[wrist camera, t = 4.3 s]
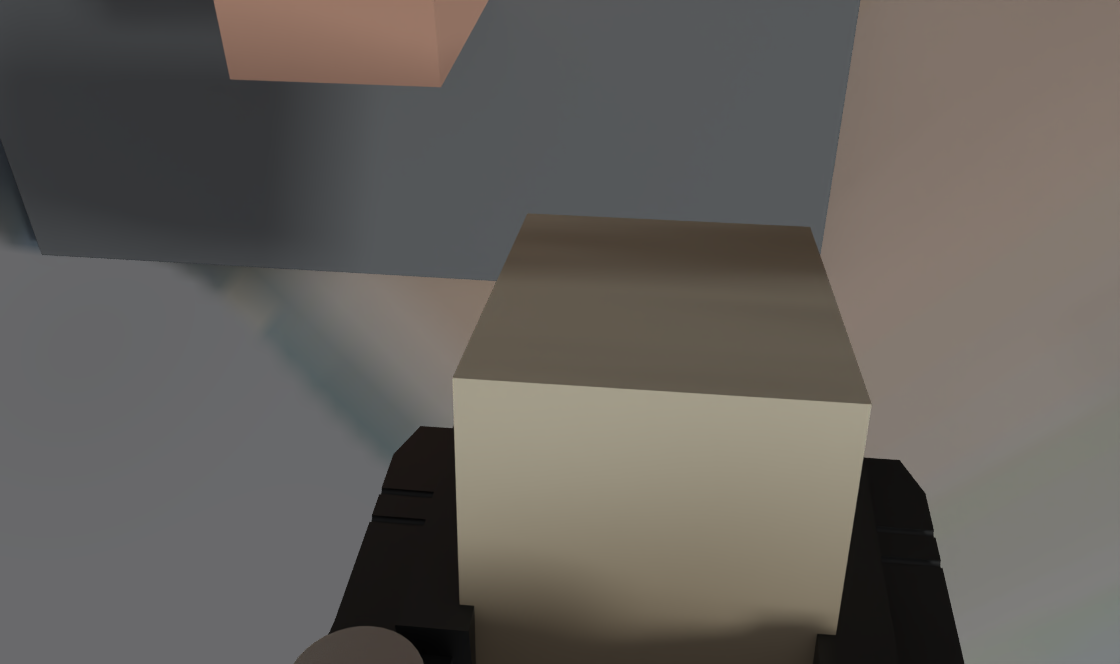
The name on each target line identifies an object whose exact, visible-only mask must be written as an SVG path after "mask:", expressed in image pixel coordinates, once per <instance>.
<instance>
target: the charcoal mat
mask: <svg viewBox="0 0 1120 664" xmlns="http://www.w3.org/2000/svg"><path fill="white" fill-rule="evenodd" d="M859 5H860V0H488V2H487V4H486V6H485V8H484V10H483V11H482V13H481V15H480V17H479V19H478V21H477V22H476V24H475V26H474V28H473V30H472V31H471V33H470V35H469V37H468V39H467V41H466V42H465V44H464V46H463V48H462V50H461V52H460V53H459V55H458V57H457V59H456V61H455V63H454V64H453V66H452V68H451V70H450V72H449V73H448V75H447V77H446V79H445V81H444V83H443V84H442V86H441V87H420V86H393V85H366V84H340V83H313V82H286V81H260V80H233V79H230V76H229V72H228V67H227V62H226V57H225V52H224V48H223V43H222V38H221V33H220V29H219V24H218V19H217V14H216V9H215V5H214V0H0V139H1V142H2V145H3V147H4V150H5V153H6V156H7V159H8V161H9V164H10V167H11V170H12V173H13V175H14V178H15V181H16V184H17V187H18V189H19V192H20V195H21V198H22V200H23V203H24V206H25V209H26V212H27V214H28V217H29V220H30V223H31V226H32V228H33V231H34V234H35V237H36V240H37V242H38V245H39V248H40V251H41V254H42V255H55V256H73V257H90V258H107V259H125V260H142V261H159V262H177V263H194V264H211V265H229V266H246V267H263V268H281V269H298V270H315V271H333V272H350V273H368V274H385V275H402V276H420V277H437V278H454V279H472V280H489V281H497V279H498V277H499V275H500V273H501V270H502V268H503V266H504V264H505V262H506V259H507V257H508V255H509V253H510V251H511V248H512V246H513V244H514V242H515V240H516V237H517V235H518V233H519V231H520V229H521V226H522V224H523V222H524V220H525V218H526V215H527V213H530V214H551V215H572V216H593V217H614V218H635V219H656V220H677V221H698V222H719V223H740V224H761V225H782V226H803V227H810V228H811V231H812V234H813V236H814V239H815V242H816V245H817V248H818V251H819V254H820V253H821V247H822V241H823V234H824V228H825V221H826V215H827V209H828V202H829V196H830V190H831V183H832V177H833V171H834V164H835V158H836V151H837V145H838V139H839V132H840V126H841V120H842V113H843V107H844V101H845V94H846V88H847V82H848V75H849V69H850V62H851V56H852V50H853V43H854V37H855V31H856V24H857V18H858V12H859Z"/></svg>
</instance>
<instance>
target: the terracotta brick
mask: <svg viewBox="0 0 1120 664" xmlns="http://www.w3.org/2000/svg"><path fill="white" fill-rule="evenodd" d="M487 2H488V0H214V5H215V9H216V14H217V19H218V24H219V29H220V33H221V38H222V43H223V48H224V52H225V57H226V62H227V67H228V72H229V76H230V79H233V80H260V81H286V82H313V83H340V84H366V85H393V86H420V87H441V86H442V84H443V83H444V81H445V79H446V77H447V75H448V73H449V72H450V70H451V68H452V66H453V64H454V63H455V61H456V59H457V57H458V55H459V53H460V52H461V50H462V48H463V46H464V44H465V42H466V41H467V39H468V37H469V35H470V33H471V31H472V30H473V28H474V26H475V24H476V22H477V21H478V19H479V17H480V15H481V13H482V11H483V10H484V8H485V6H486V4H487Z"/></svg>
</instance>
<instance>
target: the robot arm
mask: <svg viewBox="0 0 1120 664" xmlns="http://www.w3.org/2000/svg"><path fill="white" fill-rule="evenodd" d="M933 532H934V529H933V525H932V520H931V516H930V512H929V507H928V503H927V499H926V494H925V492H924V491H923V490H922V489H921V487H920V486H919V485H918V483H917V482H916V481H915V480H914V478H913V477H912V476H911V474H910V473H909V472H908V470H907V469H906V468H905V467H904V465H903V464H902V463H901V461H900V460H890V459H876V458H864V457H863V464H862V470H861V477H860V483H859V489H858V496H857V502H856V509H855V515H854V521H853V528H852V534H851V541H850V547H849V553H848V560H847V566H846V573H845V579H844V585H843V592H842V598H841V605H840V611H839V617H838V624H837V630H836V635H828V634H817V638H816V645H815V652H814V659H813V664H964V660H963V655H962V651H961V647H960V642H959V638H958V634H957V629H956V625H955V621H954V616H953V612H952V608H951V603H950V599H949V594H948V590H947V586H946V581H945V577H944V573H943V568H941V567H940V561H941V560H940V555H939V551H938V547H937V542H936V538H934V536H933ZM294 664H476V649H475V611H474V606H472V605H460V600H459V568H458V536H457V504H456V473H455V441H454V426H453V428H439V427H425V426H420V427H419V428H418V429H417V431H416V432H415V433H414V434H413V435H412V436H411V437H410V438H409V439H408V440H407V441H406V442H405V443H404V444H403V445H402V446H401V447H400V448H399V449H398V450H397V451H396V452H395V453H394V455H393V457H392V460H391V463H390V466H389V469H388V471H387V474H386V477H385V480H384V483H383V486H382V493H381V495H379V497H378V500H377V503H376V506H375V508H374V511H373V514H372V522H370V523H369V525H368V528H367V531H366V534H365V537H364V539H363V542H362V545H361V548H360V551H359V553H358V556H357V559H356V562H355V565H354V568H353V570H352V573H351V576H350V579H349V582H348V585H347V587H346V590H345V593H344V596H343V599H342V602H341V604H340V607H339V610H338V613H337V616H336V618H335V621H334V623H333V626H332V628H331V630H330V632H329V634H328V635H326V636H324V637H323V638H321V639H319V640H318V641H316V642H314V643H313V644H312V645H311V646H310V647H308V648H307V649H306V650H305V651H304V652H303V653H302V654H301V655H300V656H299V658H297V660H296V661H295V663H294Z"/></svg>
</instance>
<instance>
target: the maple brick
mask: <svg viewBox="0 0 1120 664" xmlns="http://www.w3.org/2000/svg"><path fill="white" fill-rule="evenodd" d="M871 406H872V404H871V401H870V398H869V395H868V392H867V389H866V386H865V384H864V381H863V378H862V375H861V372H860V369H859V366H858V363H857V360H856V358H855V355H854V352H853V349H852V346H851V343H850V340H849V337H848V335H847V332H846V329H845V326H844V323H843V320H842V317H841V314H840V311H839V309H838V306H837V303H836V300H835V297H834V294H833V291H832V288H831V285H830V283H829V280H828V277H827V274H826V271H825V268H824V265H823V262H822V259H821V257H820V254H819V251H818V248H817V245H816V242H815V239H814V236H813V234H812V231H811V228H810V227H803V226H782V225H761V224H740V223H719V222H698V221H677V220H656V219H635V218H614V217H593V216H572V215H551V214H530V213H527V215H526V218H525V220H524V222H523V224H522V226H521V229H520V231H519V233H518V235H517V237H516V240H515V242H514V244H513V246H512V248H511V251H510V253H509V255H508V257H507V259H506V262H505V264H504V266H503V268H502V270H501V273H500V275H499V277H498V279H497V281H496V283H495V286H494V288H493V290H492V292H491V294H490V297H489V299H488V301H487V303H486V305H485V308H484V310H483V312H482V314H481V316H480V319H479V321H478V323H477V325H476V327H475V330H474V332H473V334H472V336H471V338H470V341H469V343H468V345H467V347H466V349H465V352H464V354H463V356H462V358H461V360H460V363H459V365H458V367H457V369H456V371H455V374H454V376H453V409H454V441H455V473H456V504H457V536H458V568H459V600H460V605H472V606H474V611H475V649H476V664H813V659H814V652H815V645H816V638H817V634H828V635H836V630H837V624H838V617H839V611H840V605H841V598H842V592H843V585H844V579H845V573H846V566H847V560H848V553H849V547H850V541H851V534H852V528H853V521H854V515H855V509H856V502H857V496H858V489H859V483H860V477H861V470H862V464H863V457H864V451H865V444H866V438H867V432H868V425H869V419H870V412H871Z"/></svg>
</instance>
